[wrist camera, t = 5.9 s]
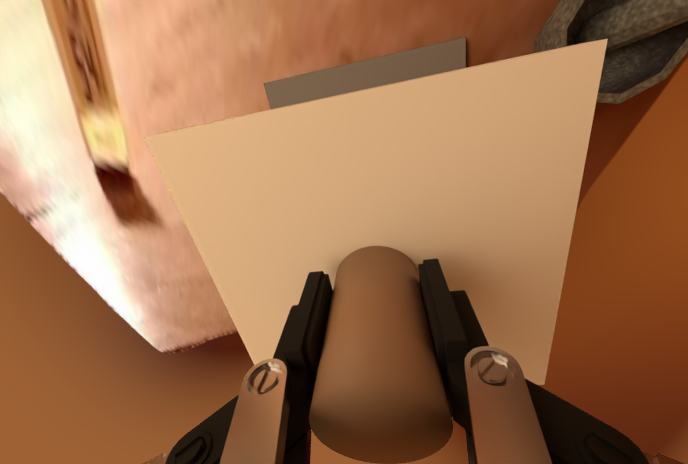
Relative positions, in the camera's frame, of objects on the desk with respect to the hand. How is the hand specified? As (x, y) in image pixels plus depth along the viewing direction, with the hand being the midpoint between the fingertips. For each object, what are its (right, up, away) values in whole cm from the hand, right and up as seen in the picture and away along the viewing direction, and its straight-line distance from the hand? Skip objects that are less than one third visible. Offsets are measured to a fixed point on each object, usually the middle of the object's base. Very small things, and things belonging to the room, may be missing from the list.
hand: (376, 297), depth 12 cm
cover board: (0, +1, +2) cm, 2 cm away
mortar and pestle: (+20, +21, +15) cm, 32 cm away
